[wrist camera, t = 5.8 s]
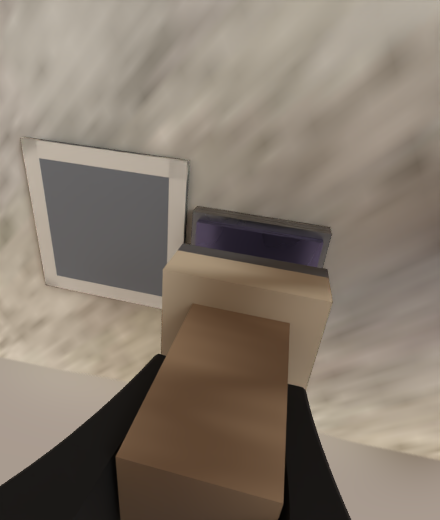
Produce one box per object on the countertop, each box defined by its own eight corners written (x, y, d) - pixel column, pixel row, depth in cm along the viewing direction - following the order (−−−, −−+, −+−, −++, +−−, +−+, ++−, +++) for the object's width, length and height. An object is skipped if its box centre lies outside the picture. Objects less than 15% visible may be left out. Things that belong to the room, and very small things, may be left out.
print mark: (189, 160, 15) (187, 161, 14) (181, 309, 18) (180, 312, 18) (25, 137, 16) (20, 137, 15) (49, 282, 19) (45, 284, 19)
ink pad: (330, 227, 15) (332, 238, 14) (301, 334, 17) (302, 349, 16) (197, 206, 15) (190, 214, 14) (190, 311, 18) (184, 324, 17)
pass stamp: (327, 269, 11) (363, 486, 5) (296, 377, 13) (295, 617, 7) (183, 243, 12) (57, 404, 6) (177, 350, 14) (84, 548, 8)
